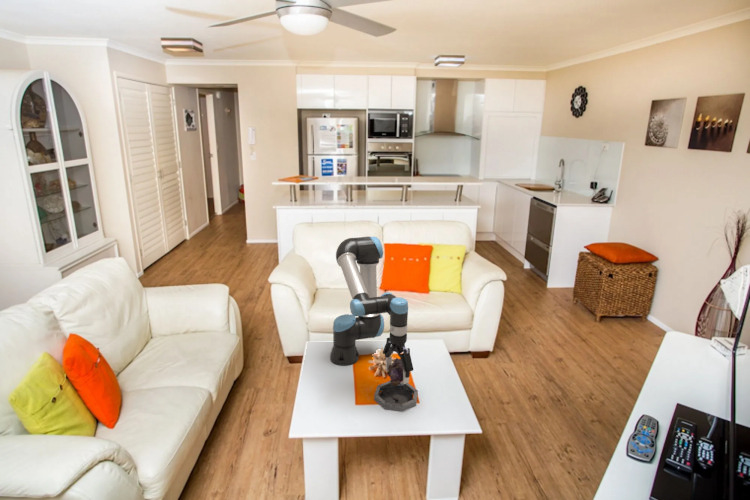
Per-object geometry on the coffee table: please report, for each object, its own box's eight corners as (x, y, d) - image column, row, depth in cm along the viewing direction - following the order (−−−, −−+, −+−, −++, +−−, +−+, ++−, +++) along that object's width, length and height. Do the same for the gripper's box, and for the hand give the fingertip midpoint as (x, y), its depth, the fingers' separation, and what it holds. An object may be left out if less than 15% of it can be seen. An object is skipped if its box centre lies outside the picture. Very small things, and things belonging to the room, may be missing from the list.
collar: (367, 394, 205) (367, 389, 204) (399, 381, 216) (400, 376, 215) (391, 416, 190) (391, 411, 189) (425, 401, 201) (425, 396, 200)
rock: (387, 388, 195) (409, 388, 195) (386, 373, 191) (410, 373, 191) (386, 370, 206) (408, 370, 205) (386, 355, 202) (408, 355, 202)
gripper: (375, 324, 201) (374, 366, 207) (409, 346, 182) (407, 392, 188) (388, 320, 205) (387, 362, 211) (423, 341, 186) (420, 386, 192)
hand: (396, 376), depth 200 cm, fingers closed on rock, 12 cm apart
